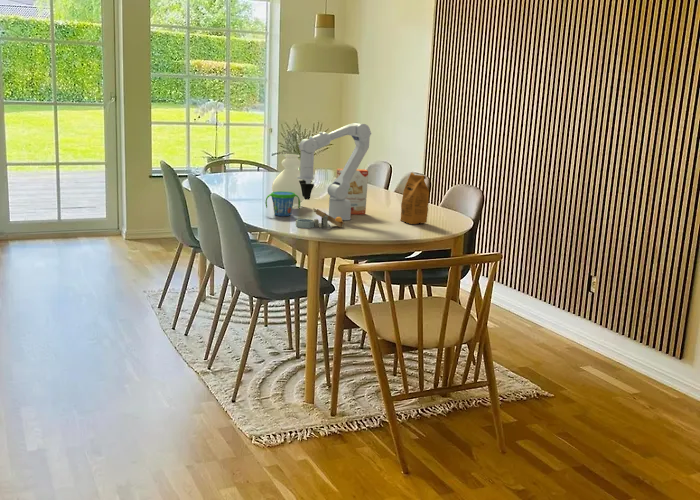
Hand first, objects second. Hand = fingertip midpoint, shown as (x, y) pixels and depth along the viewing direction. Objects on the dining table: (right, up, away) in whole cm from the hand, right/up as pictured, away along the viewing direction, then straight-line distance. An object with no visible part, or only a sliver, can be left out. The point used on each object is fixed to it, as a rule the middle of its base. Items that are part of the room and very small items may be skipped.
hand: (306, 198), depth 327 cm
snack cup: (-11, -7, +11) cm, 17 cm away
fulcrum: (+8, -13, -10) cm, 18 cm away
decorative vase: (-10, -2, +34) cm, 36 cm away
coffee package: (+48, -11, +10) cm, 50 cm away
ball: (+14, -10, -10) cm, 20 cm away
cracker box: (+19, -6, +24) cm, 31 cm away
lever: (+9, -9, -7) cm, 15 cm away
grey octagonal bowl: (0, -13, -11) cm, 17 cm away
